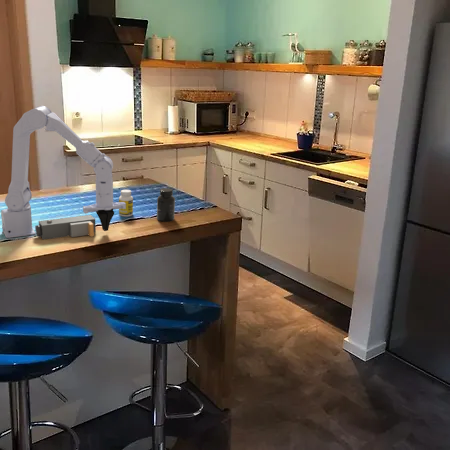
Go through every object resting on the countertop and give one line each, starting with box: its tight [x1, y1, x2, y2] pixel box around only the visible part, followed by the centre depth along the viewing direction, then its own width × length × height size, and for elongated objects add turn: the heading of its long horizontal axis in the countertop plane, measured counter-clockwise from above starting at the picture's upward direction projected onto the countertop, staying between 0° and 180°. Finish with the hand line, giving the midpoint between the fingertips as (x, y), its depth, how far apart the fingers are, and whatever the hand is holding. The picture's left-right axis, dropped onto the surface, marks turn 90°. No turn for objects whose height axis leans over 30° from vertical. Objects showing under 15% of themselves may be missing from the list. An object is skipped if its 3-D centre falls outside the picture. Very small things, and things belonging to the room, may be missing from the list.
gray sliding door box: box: [34, 214, 97, 241], centre depth 172 cm, size 19×5×6 cm, turn 122°
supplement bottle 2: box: [156, 187, 176, 223], centre depth 192 cm, size 7×7×12 cm
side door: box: [69, 221, 95, 238], centre depth 171 cm, size 7×4×4 cm, turn 122°
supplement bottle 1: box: [118, 189, 134, 218], centre depth 195 cm, size 5×5×10 cm
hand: (105, 229), depth 175 cm, fingers closed
